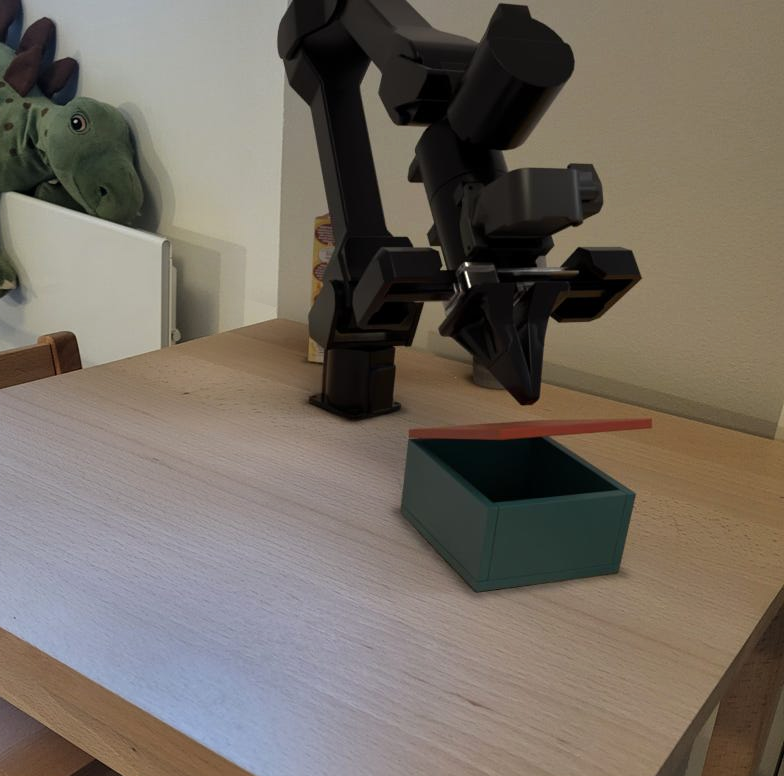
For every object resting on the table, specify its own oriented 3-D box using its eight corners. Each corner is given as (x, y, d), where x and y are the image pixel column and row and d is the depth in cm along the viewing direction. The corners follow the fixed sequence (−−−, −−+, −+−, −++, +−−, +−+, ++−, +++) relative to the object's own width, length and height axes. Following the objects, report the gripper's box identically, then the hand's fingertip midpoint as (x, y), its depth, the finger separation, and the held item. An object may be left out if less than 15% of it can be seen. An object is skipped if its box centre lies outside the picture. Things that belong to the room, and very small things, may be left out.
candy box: (342, 367, 98) (353, 220, 91) (305, 362, 99) (313, 215, 93) (364, 347, 105) (376, 210, 99) (329, 342, 106) (338, 206, 100)
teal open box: (618, 573, 59) (636, 493, 57) (475, 592, 56) (488, 508, 54) (525, 499, 69) (538, 428, 67) (399, 512, 66) (407, 438, 63)
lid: (652, 428, 55) (652, 418, 55) (500, 440, 52) (499, 429, 52) (538, 428, 66) (538, 420, 66) (408, 437, 63) (408, 429, 63)
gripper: (386, 106, 53) (450, 346, 48) (654, 119, 58) (736, 334, 54) (330, 223, 63) (378, 432, 58) (564, 225, 68) (626, 414, 63)
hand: (530, 402), depth 58 cm, fingers closed
